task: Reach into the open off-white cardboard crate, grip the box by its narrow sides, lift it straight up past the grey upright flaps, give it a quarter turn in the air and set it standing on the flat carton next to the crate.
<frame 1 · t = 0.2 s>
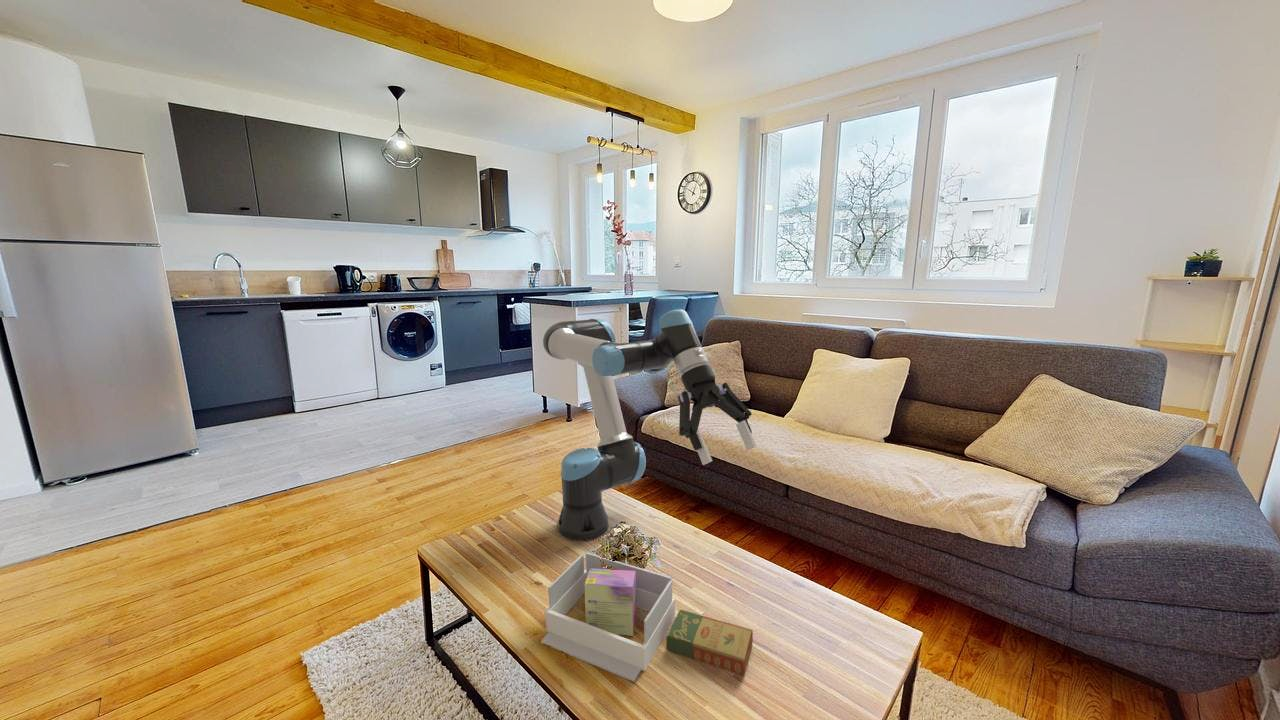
hand: (730, 455, 103), 35 cm above the table, tool tilted 35°, fingers open, 13 cm apart
carton: (709, 650, 95), on the table
box: (611, 625, 102), resting in open crate
open crate: (611, 624, 102), on the table
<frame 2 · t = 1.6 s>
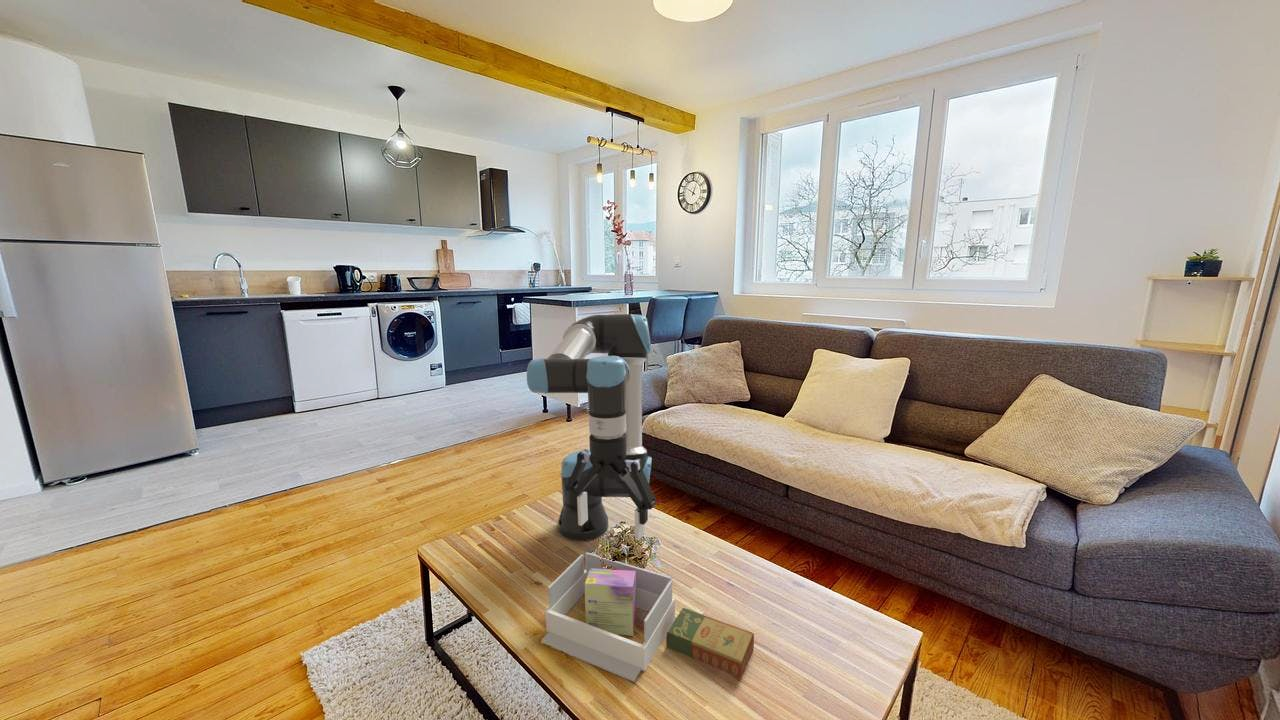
hand: (610, 529, 97), 23 cm above the table, tool pointing down, fingers open, 13 cm apart
nothing on the table moved.
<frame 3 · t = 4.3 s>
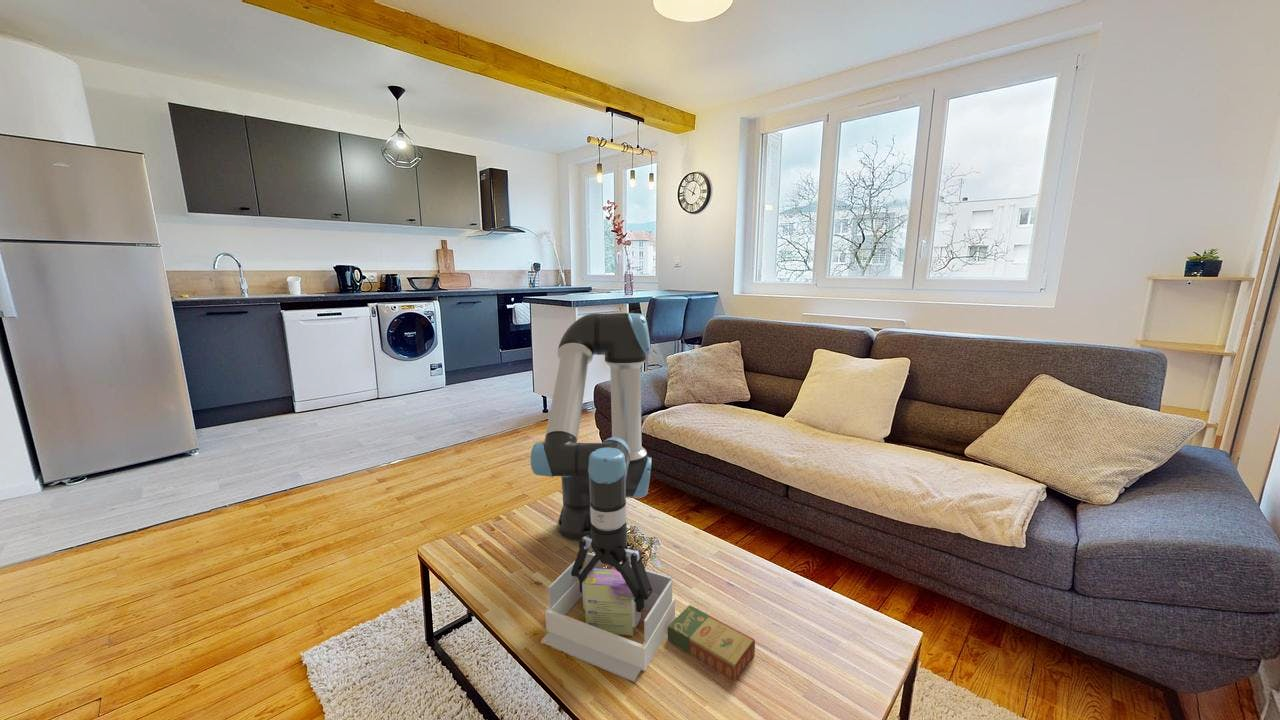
hand: (611, 613, 101), 3 cm above the table, tool pointing down, fingers closed on box, 11 cm apart
box: (611, 625, 102), resting in open crate, touching gripper
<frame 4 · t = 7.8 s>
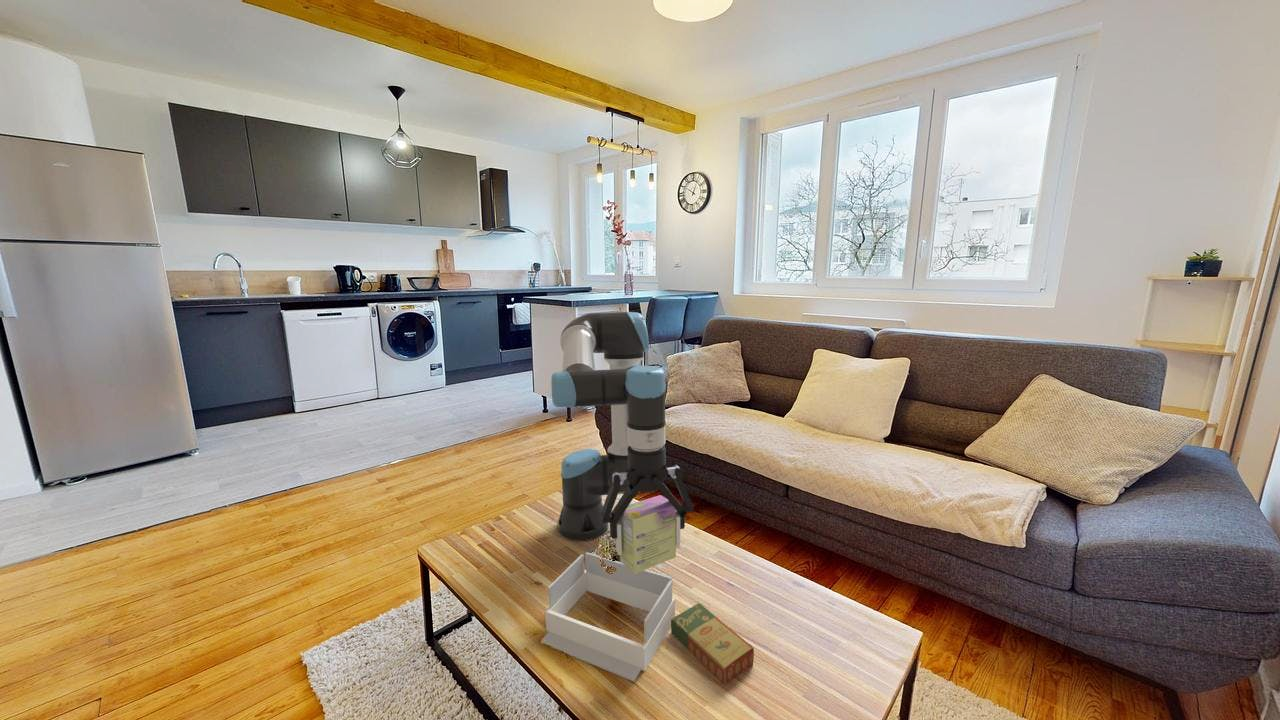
hand: (648, 547, 95), 21 cm above the table, tool pointing down, fingers closed on box, 11 cm apart
box: (648, 560, 95), point 18 cm above the table, touching gripper
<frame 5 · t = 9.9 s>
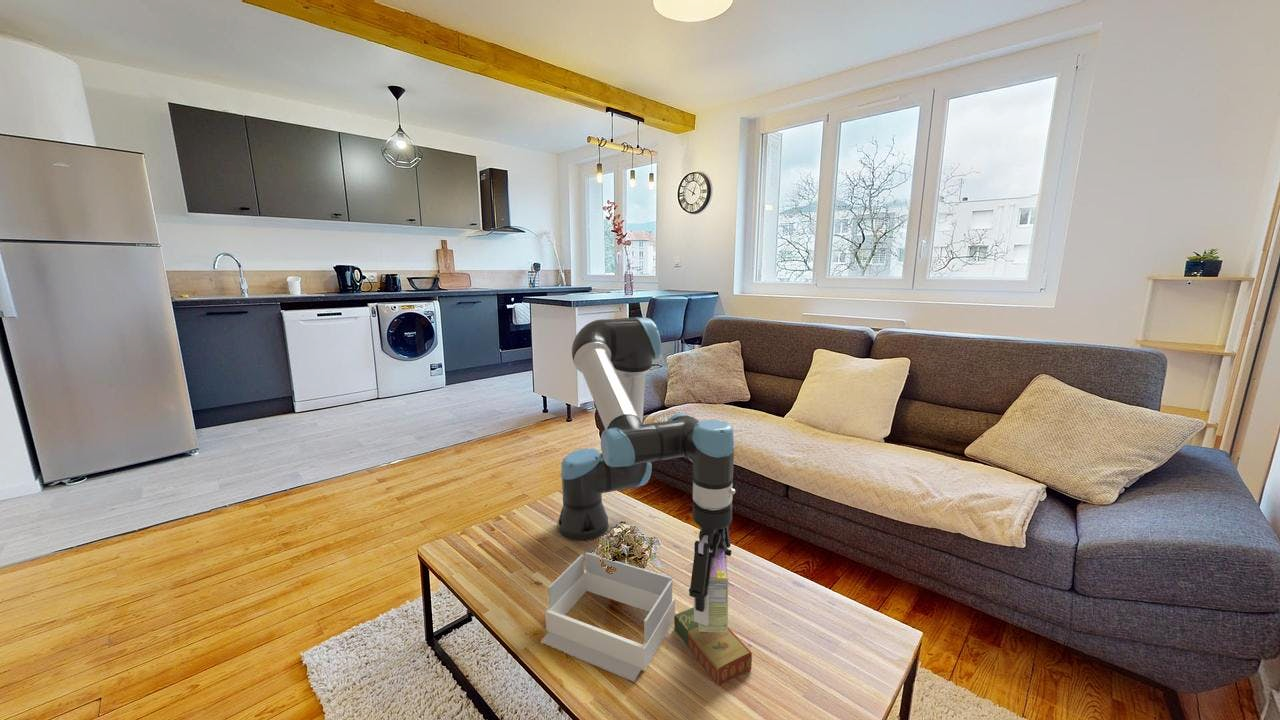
hand: (711, 602, 93), 11 cm above the table, tool pointing down, fingers closed on box, 11 cm apart
box: (711, 614, 93), point 8 cm above the table, touching gripper
when the fingers open (8 cm above the table, at t = 11.5 s): box drops 1 cm, resting on carton.
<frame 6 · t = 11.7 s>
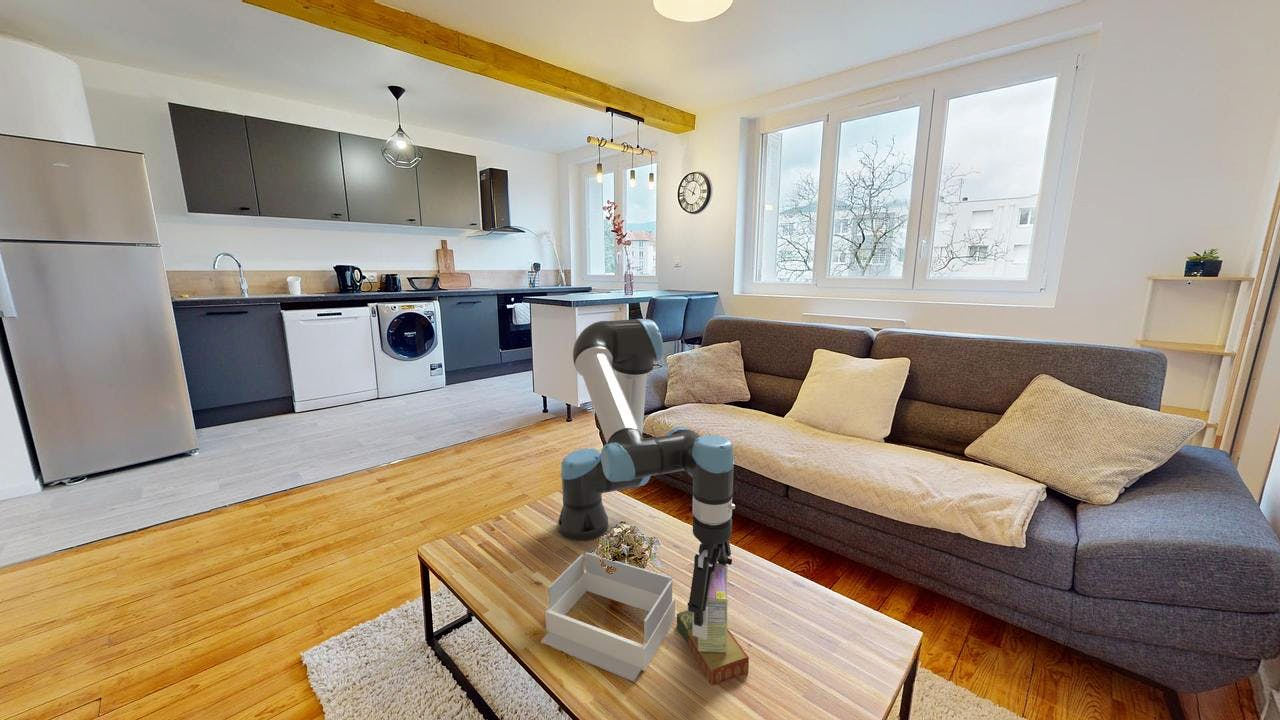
hand: (710, 613, 93), 8 cm above the table, tool pointing down, fingers open, 13 cm apart
carton: (710, 651, 95), on the table, touching box
box: (710, 633, 94), point 3 cm above the table, touching carton
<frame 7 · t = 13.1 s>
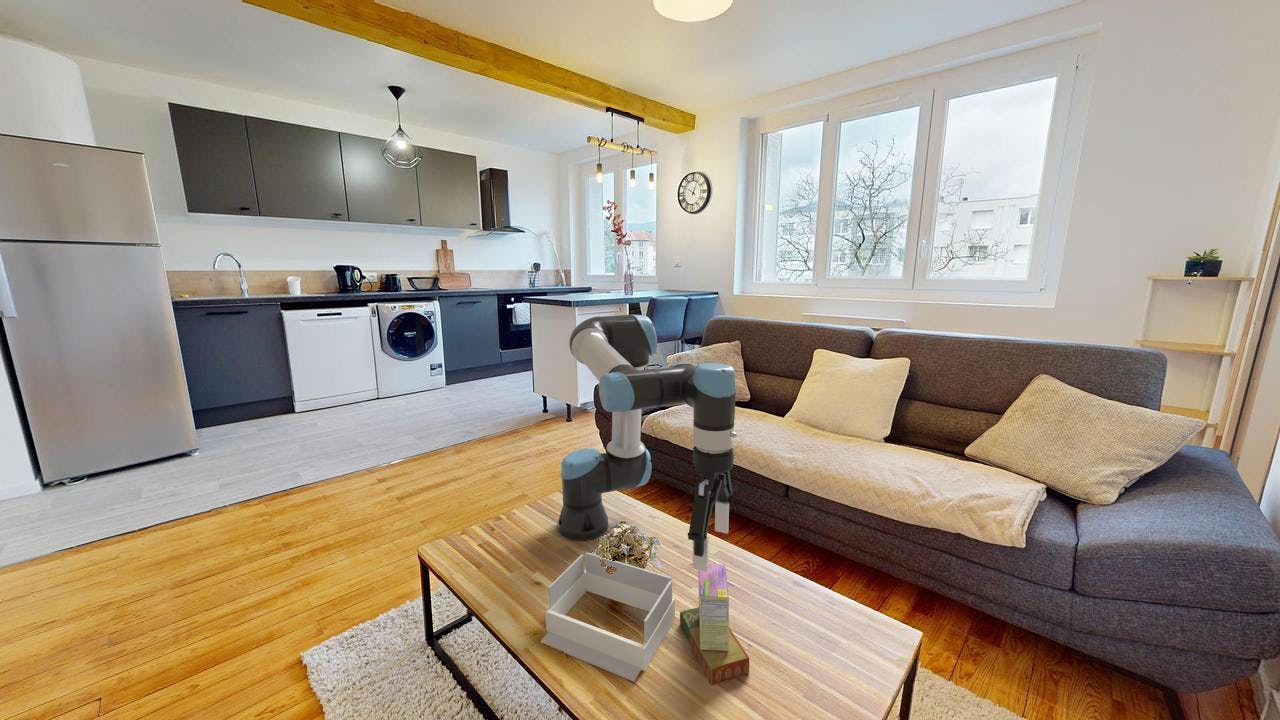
hand: (711, 549, 91), 22 cm above the table, tool pointing down, fingers open, 13 cm apart
carton: (712, 650, 95), on the table
box: (712, 632, 94), point 4 cm above the table
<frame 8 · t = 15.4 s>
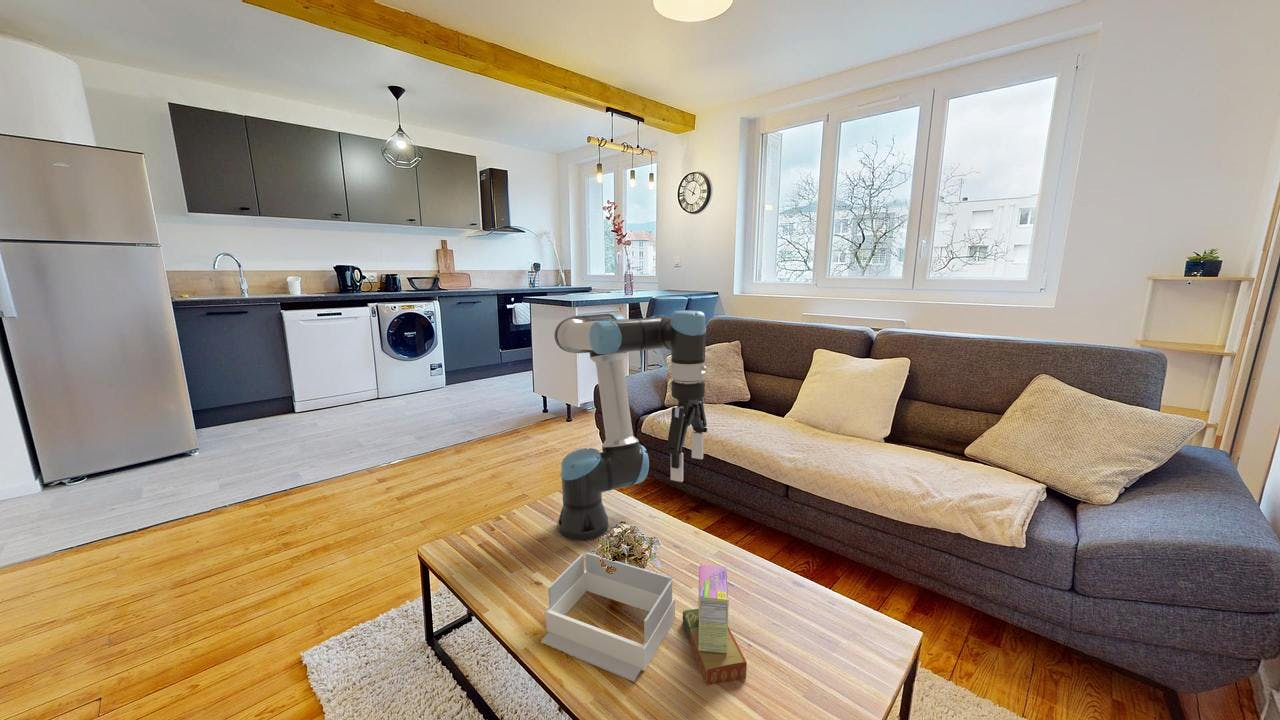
hand: (687, 468, 108), 31 cm above the table, tool pointing down, fingers open, 13 cm apart
carton: (711, 652, 95), on the table, touching box
box: (712, 633, 94), point 3 cm above the table, touching carton
at the end: box inside the target area on the carton (0.0 cm from its centre), point 4.3 cm above the carton's base; box tilted 0°; the gripper is holding nothing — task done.
